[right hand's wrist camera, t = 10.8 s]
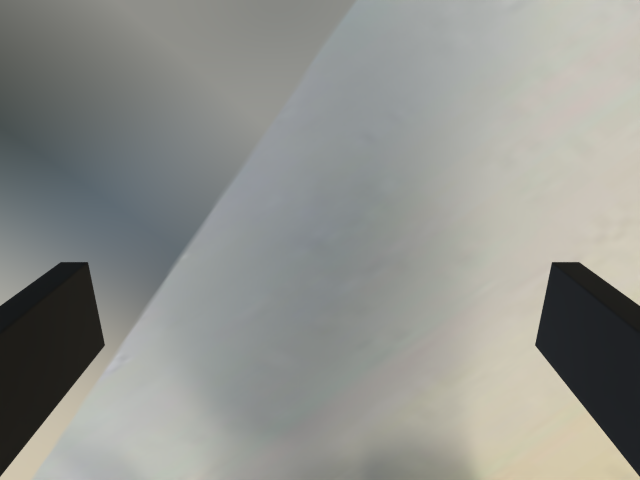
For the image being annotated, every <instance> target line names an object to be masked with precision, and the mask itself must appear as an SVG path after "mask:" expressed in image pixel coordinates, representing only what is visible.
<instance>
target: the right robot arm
mask: <svg viewBox="0 0 640 480" xmlns="http://www.w3.org/2000/svg"><path fill="white" fill-rule="evenodd" d="M104 345H105V344H104V339H103V334H102V329H101V324H100V319H99V314H98V310H97V305H96V300H95V295H94V290H93V285H92V280H91V275H90V270H89V265H88V262H61V263H59V264H58V265H56V266H55V267H54V268H52V269H51V270H50V271H48V272H47V273H45V274H44V275H43V276H41V277H40V278H38V279H37V280H36V281H34V282H33V283H31V284H30V285H29V286H27V287H26V288H25V289H23V290H22V291H20V292H19V293H18V294H16V295H15V296H14V297H12V298H11V299H9V300H8V301H7V302H5V303H4V304H2V305H1V306H0V476H1V475H2V474H3V472H4V471H5V470H6V469H7V467H8V466H9V465H10V464H11V462H12V461H13V460H14V459H15V457H16V456H17V455H18V454H19V452H20V451H21V450H22V449H23V447H24V446H25V445H26V444H27V442H28V441H29V440H30V439H31V437H32V436H33V435H34V434H35V432H36V431H37V430H38V429H39V427H40V426H41V425H42V424H43V422H44V421H45V420H46V418H47V417H48V416H49V415H50V413H51V412H52V411H53V410H54V408H55V407H56V406H57V405H58V403H59V402H60V401H61V400H62V398H63V397H64V396H65V395H66V393H67V392H68V391H69V390H70V388H71V387H72V386H73V385H74V383H75V382H76V381H77V379H78V378H79V377H80V376H81V374H82V373H83V372H84V371H85V370H86V368H87V367H88V366H89V364H90V363H91V362H92V361H93V359H94V358H95V357H96V356H97V354H98V353H99V352H100V351H101V349H102V348H103V347H104ZM535 346H536V347H537V348H538V349H539V351H540V352H541V353H542V354H543V356H544V357H545V358H546V359H547V361H548V362H549V363H550V365H551V366H552V367H553V368H554V370H555V371H556V372H557V373H558V375H559V376H560V377H561V378H562V380H563V381H564V382H565V383H566V385H567V386H568V387H569V388H570V390H571V391H572V392H573V393H574V395H575V396H576V397H577V398H578V400H579V401H580V402H581V403H582V405H583V406H584V407H585V408H586V410H587V411H588V412H589V413H590V415H591V416H592V417H593V418H594V420H595V421H596V422H597V424H598V425H599V426H600V427H601V429H602V430H603V431H604V432H605V434H606V435H607V436H608V437H609V439H610V440H611V441H612V442H613V444H614V445H615V446H616V447H617V449H618V450H619V451H620V452H621V454H622V455H623V456H624V457H625V459H626V460H627V461H628V462H629V464H630V465H631V466H632V467H633V469H634V470H635V471H636V472H637V474H638V475H639V476H640V306H639V305H638V304H636V303H635V302H633V301H632V300H631V299H629V298H628V297H627V296H625V295H624V294H622V293H621V292H620V291H618V290H617V289H615V288H614V287H613V286H611V285H610V284H609V283H607V282H606V281H604V280H603V279H602V278H600V277H599V276H597V275H596V274H595V273H593V272H592V271H591V270H589V269H588V268H586V267H585V266H584V265H582V264H581V263H579V262H552V265H551V270H550V275H549V280H548V285H547V290H546V295H545V300H544V305H543V309H542V314H541V319H540V324H539V329H538V334H537V339H536V344H535Z"/></svg>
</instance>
